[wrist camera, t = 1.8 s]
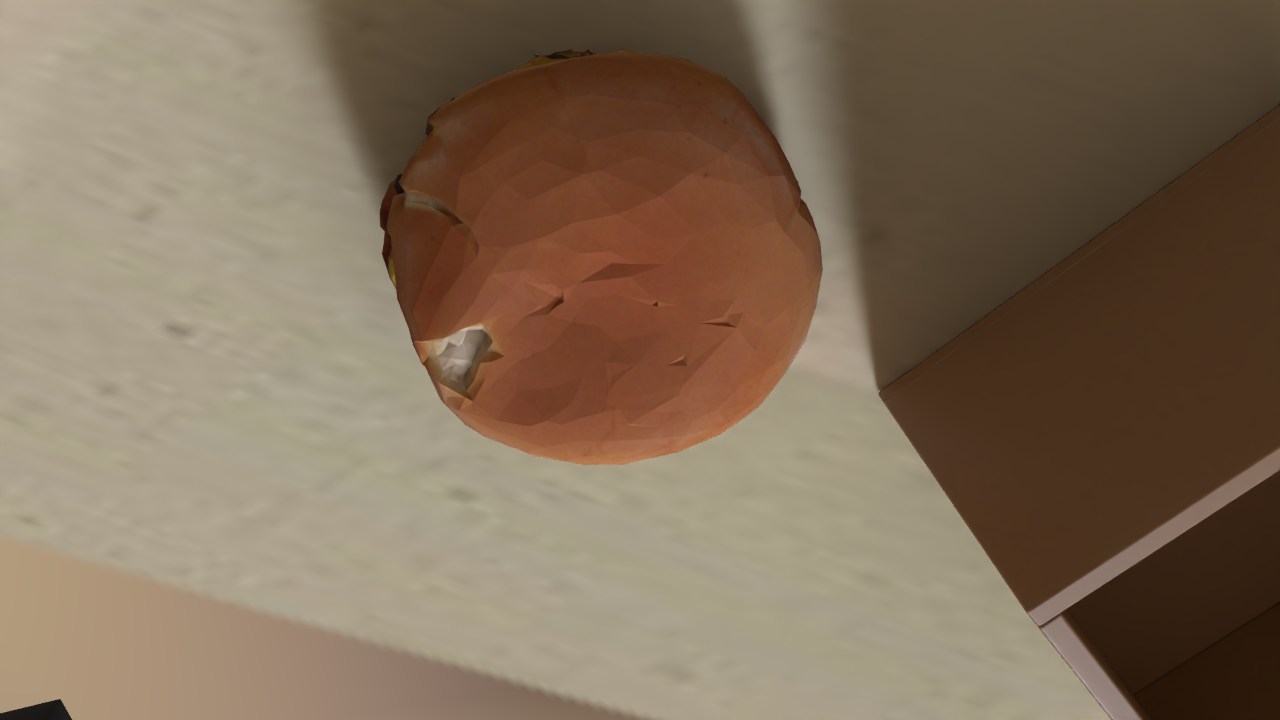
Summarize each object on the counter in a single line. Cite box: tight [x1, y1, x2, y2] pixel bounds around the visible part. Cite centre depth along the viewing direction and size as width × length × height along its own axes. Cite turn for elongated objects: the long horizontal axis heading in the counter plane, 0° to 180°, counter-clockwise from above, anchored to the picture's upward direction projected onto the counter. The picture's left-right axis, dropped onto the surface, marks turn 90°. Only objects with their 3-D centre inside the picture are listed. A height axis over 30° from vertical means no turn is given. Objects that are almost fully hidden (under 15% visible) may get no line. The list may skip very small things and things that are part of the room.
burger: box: [380, 49, 823, 465], centre depth 24 cm, size 10×9×5 cm
